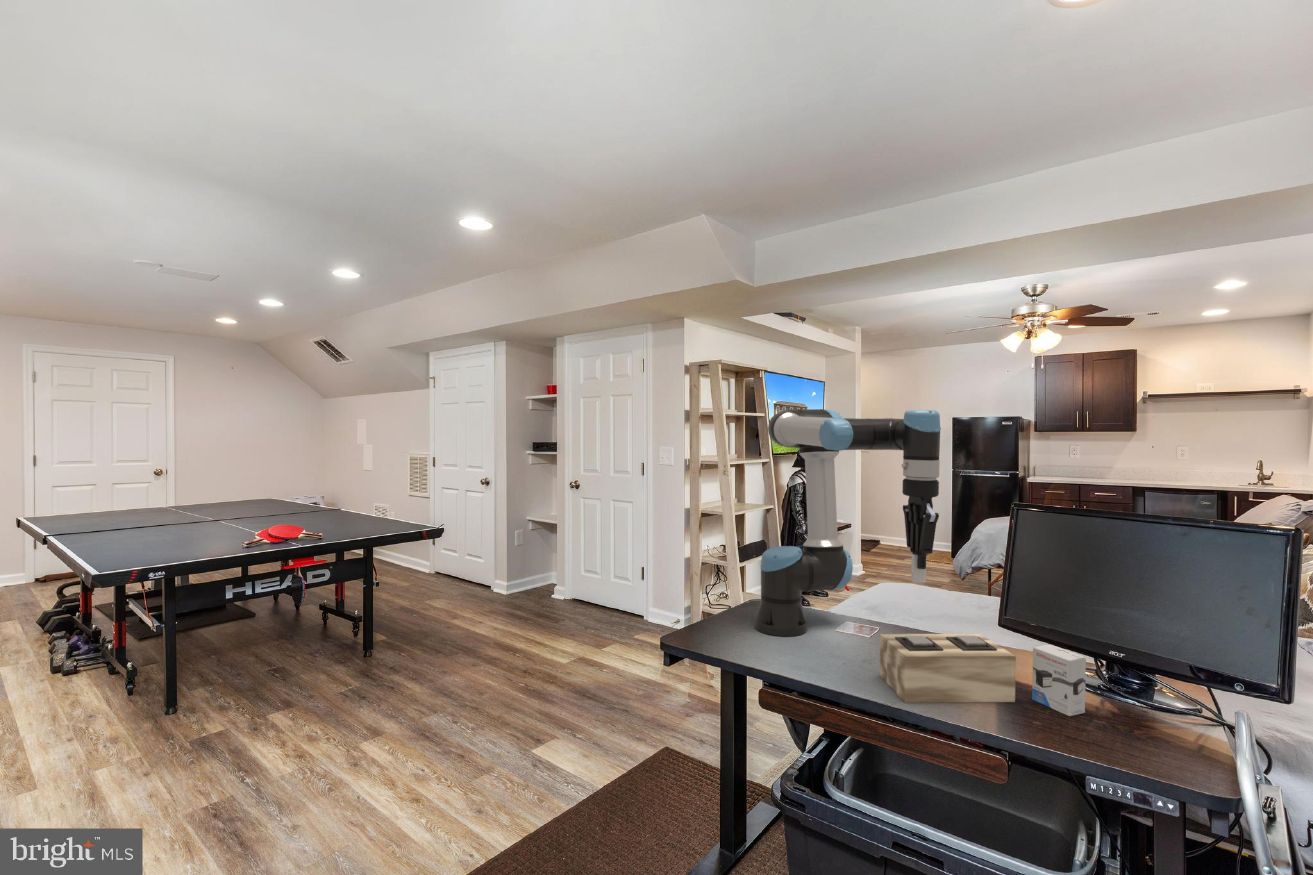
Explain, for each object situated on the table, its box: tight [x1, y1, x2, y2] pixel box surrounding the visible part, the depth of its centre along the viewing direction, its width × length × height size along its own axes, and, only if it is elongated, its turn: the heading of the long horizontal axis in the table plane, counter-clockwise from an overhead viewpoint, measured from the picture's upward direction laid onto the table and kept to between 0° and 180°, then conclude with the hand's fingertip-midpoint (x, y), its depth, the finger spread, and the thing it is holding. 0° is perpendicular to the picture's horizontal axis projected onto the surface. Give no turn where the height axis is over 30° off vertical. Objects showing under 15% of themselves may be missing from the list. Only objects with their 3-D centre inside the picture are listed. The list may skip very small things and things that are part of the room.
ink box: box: [1031, 644, 1087, 717], centre depth 129 cm, size 8×5×12 cm, turn 21°
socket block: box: [879, 633, 1017, 704], centre depth 137 cm, size 14×24×10 cm, turn 91°
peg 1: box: [905, 636, 933, 647], centre depth 137 cm, size 4×4×9 cm
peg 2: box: [956, 636, 986, 647], centre depth 137 cm, size 4×4×9 cm
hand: (918, 581), depth 137 cm, fingers closed
